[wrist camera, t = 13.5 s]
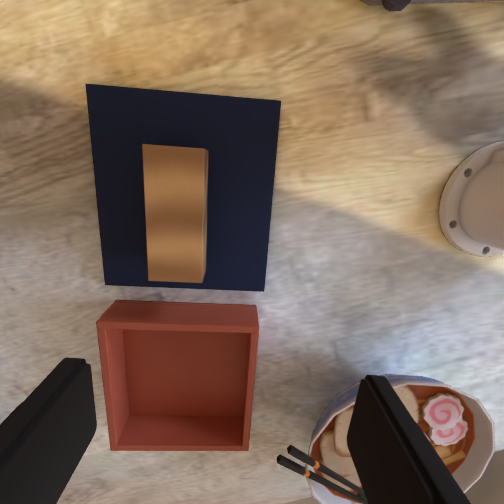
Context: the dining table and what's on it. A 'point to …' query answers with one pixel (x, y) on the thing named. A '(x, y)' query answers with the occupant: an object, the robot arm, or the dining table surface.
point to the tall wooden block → (176, 212)
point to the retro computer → (400, 0)
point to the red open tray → (178, 375)
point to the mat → (219, 178)
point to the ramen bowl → (424, 414)
